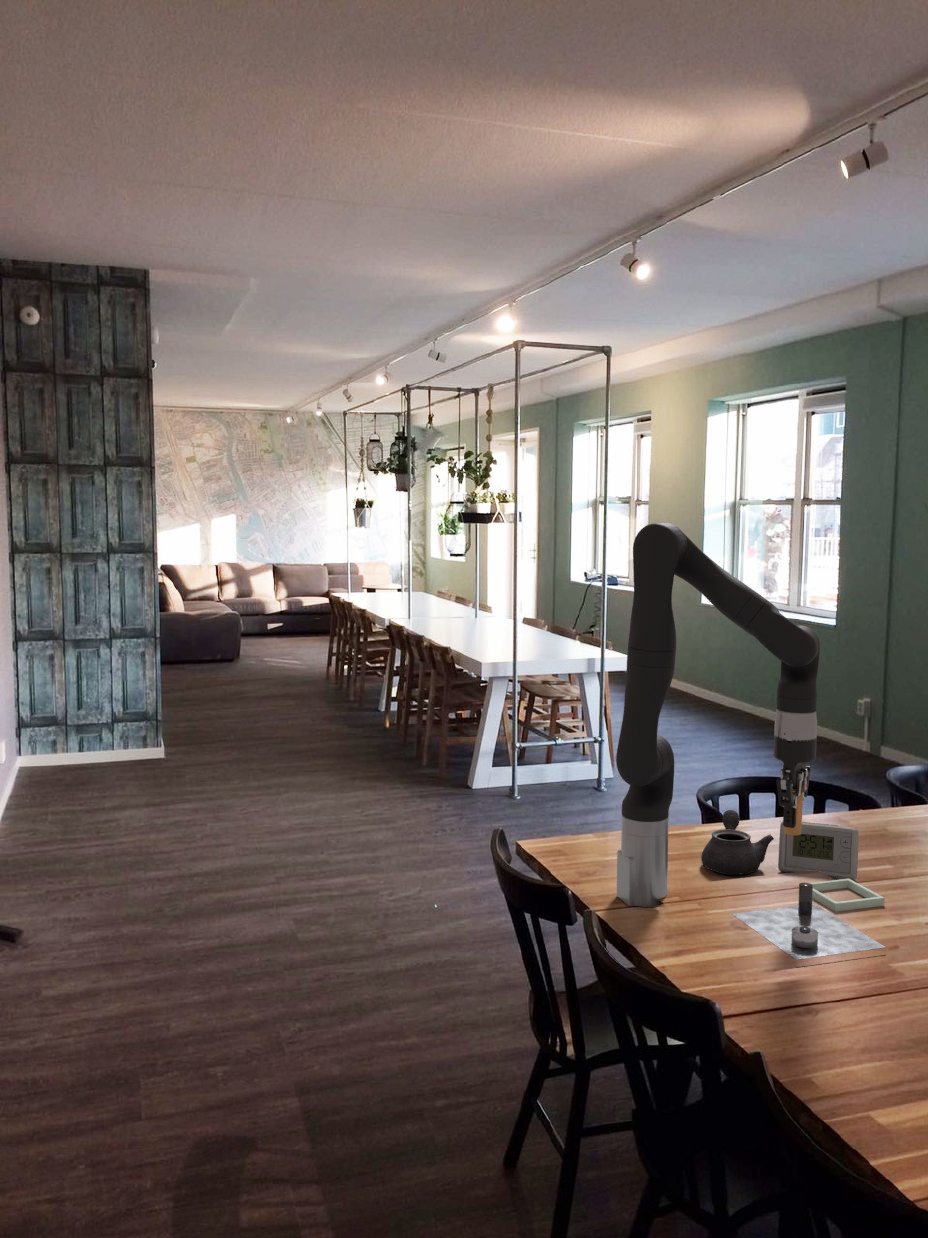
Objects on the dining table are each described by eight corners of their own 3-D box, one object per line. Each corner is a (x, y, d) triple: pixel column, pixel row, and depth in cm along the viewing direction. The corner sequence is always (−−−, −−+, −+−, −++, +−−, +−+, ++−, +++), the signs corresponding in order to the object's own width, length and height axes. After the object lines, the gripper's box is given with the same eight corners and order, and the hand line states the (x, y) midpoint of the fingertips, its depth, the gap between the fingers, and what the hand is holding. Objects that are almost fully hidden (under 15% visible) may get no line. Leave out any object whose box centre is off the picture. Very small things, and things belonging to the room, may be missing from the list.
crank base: (795, 968, 176) (796, 959, 176) (731, 921, 196) (731, 913, 196) (885, 955, 181) (886, 947, 181) (814, 911, 201) (814, 903, 201)
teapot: (780, 879, 218) (781, 833, 217) (706, 878, 219) (707, 832, 218) (759, 850, 237) (761, 808, 236) (691, 849, 238) (692, 807, 237)
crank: (817, 949, 179) (819, 910, 178) (791, 946, 180) (792, 907, 180) (817, 914, 195) (818, 878, 194) (792, 911, 196) (793, 876, 195)
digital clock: (774, 873, 222) (775, 825, 221) (785, 861, 230) (786, 814, 229) (852, 887, 214) (854, 837, 213) (862, 874, 221) (863, 826, 220)
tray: (834, 919, 197) (835, 903, 197) (801, 898, 208) (801, 884, 207) (884, 912, 200) (884, 897, 200) (848, 892, 210) (848, 878, 210)
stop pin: (789, 836, 192) (791, 796, 191) (779, 831, 195) (781, 792, 194) (804, 834, 193) (806, 795, 192) (794, 829, 196) (796, 790, 195)
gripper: (786, 725, 200) (783, 812, 201) (763, 738, 188) (760, 830, 190) (826, 729, 195) (823, 818, 197) (804, 743, 184) (801, 838, 186)
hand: (792, 824), depth 194 cm, fingers closed on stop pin, 3 cm apart
